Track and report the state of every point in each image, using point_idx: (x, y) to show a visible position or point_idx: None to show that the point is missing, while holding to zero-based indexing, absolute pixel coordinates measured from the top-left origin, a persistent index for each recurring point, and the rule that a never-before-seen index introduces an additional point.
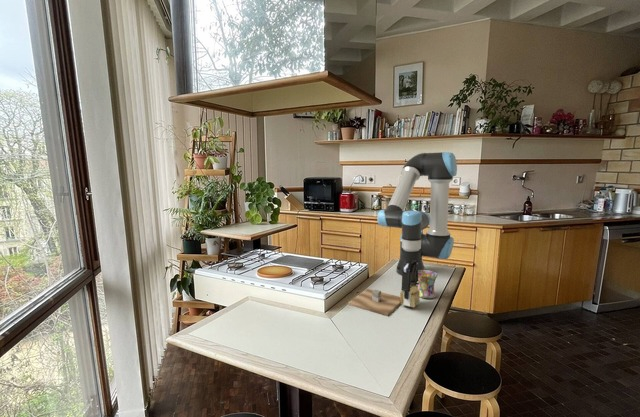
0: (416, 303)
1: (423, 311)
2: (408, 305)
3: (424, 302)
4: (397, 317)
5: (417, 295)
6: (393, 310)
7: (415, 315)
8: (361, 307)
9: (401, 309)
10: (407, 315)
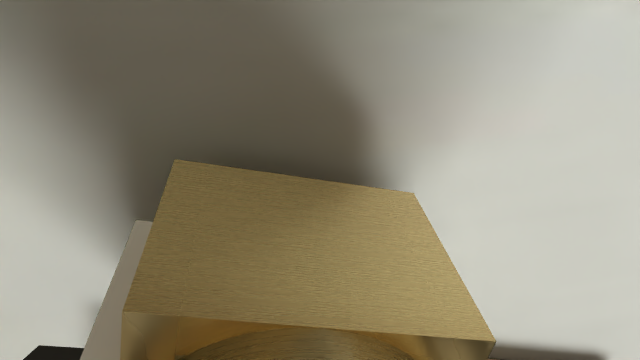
0: (324, 195)
1: (383, 45)
2: None
3: (15, 68)
4: (620, 295)
5: (292, 277)
6: None
7: (541, 135)
8: None
9: None
10: (557, 219)
